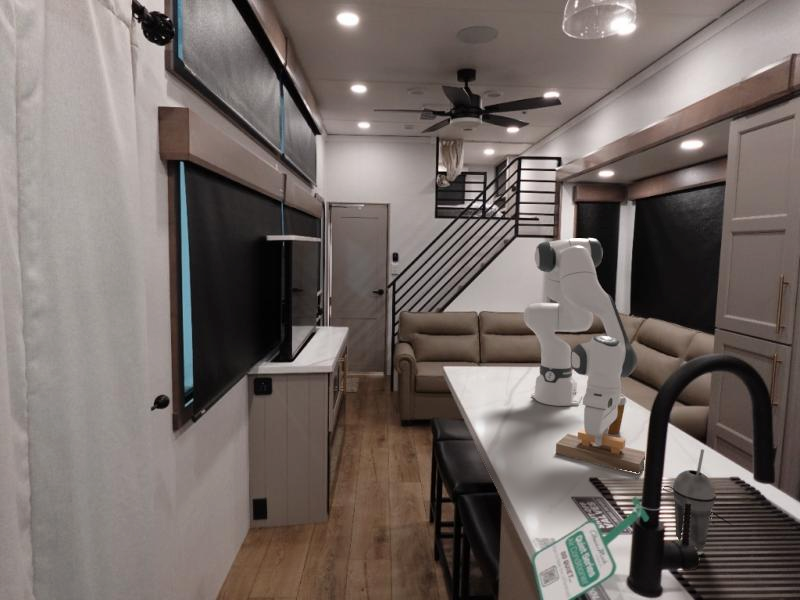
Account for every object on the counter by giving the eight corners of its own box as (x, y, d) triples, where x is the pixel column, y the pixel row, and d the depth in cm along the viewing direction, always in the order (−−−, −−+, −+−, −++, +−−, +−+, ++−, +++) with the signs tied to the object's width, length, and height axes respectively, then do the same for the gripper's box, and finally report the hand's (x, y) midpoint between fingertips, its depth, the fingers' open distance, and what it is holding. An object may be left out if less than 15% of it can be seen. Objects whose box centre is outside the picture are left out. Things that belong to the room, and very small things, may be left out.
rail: (567, 443, 148) (567, 433, 147) (646, 462, 134) (647, 452, 134) (555, 453, 140) (556, 443, 139) (638, 475, 126) (639, 464, 126)
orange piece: (580, 449, 142) (581, 429, 141) (624, 460, 134) (625, 439, 134) (577, 452, 139) (578, 432, 139) (621, 463, 132) (622, 442, 132)
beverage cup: (660, 538, 98) (666, 442, 96) (694, 537, 98) (701, 442, 96) (684, 561, 90) (691, 457, 89) (721, 559, 91) (729, 457, 89)
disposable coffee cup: (625, 428, 161) (627, 393, 160) (623, 438, 153) (626, 400, 152) (595, 423, 165) (596, 389, 164) (591, 432, 157) (593, 396, 156)
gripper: (602, 384, 145) (599, 429, 147) (580, 400, 129) (578, 450, 130) (624, 388, 142) (621, 434, 143) (605, 405, 125) (602, 456, 127)
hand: (600, 442), depth 137 cm, fingers closed on orange piece, 3 cm apart
